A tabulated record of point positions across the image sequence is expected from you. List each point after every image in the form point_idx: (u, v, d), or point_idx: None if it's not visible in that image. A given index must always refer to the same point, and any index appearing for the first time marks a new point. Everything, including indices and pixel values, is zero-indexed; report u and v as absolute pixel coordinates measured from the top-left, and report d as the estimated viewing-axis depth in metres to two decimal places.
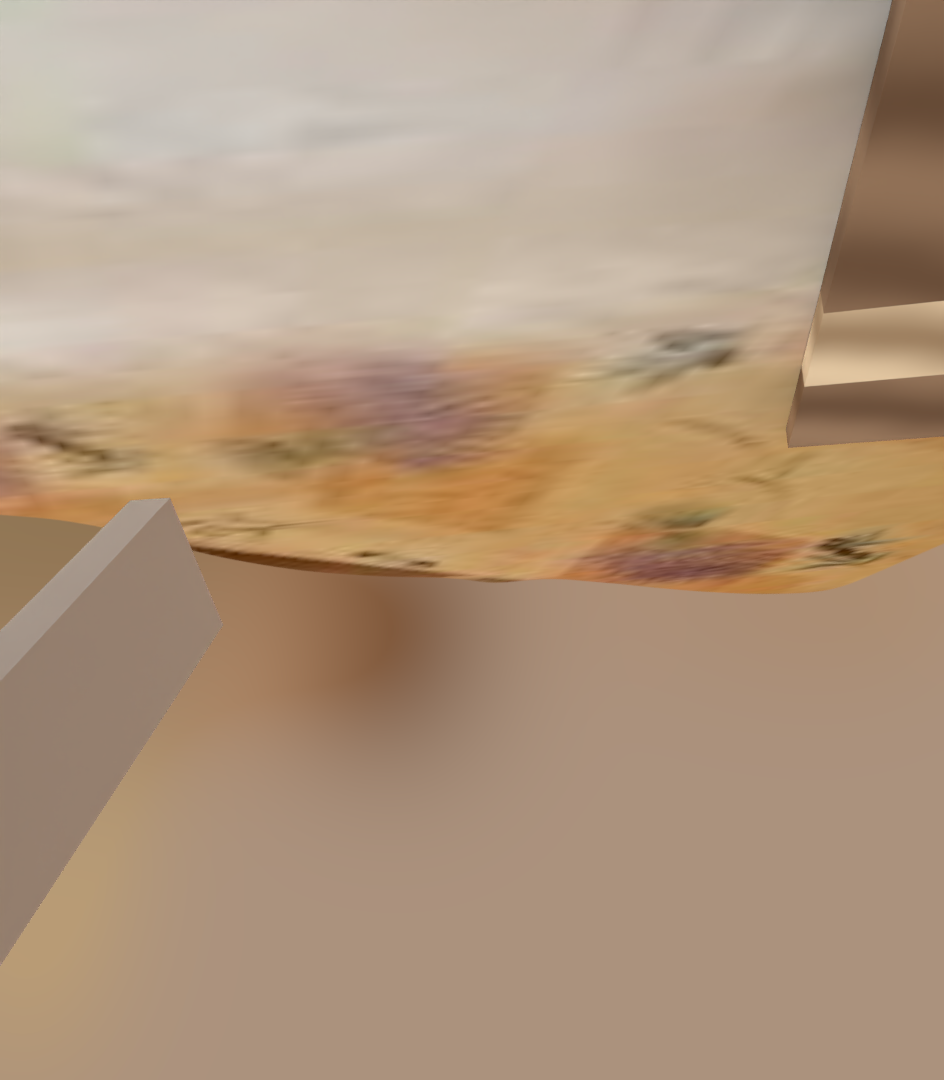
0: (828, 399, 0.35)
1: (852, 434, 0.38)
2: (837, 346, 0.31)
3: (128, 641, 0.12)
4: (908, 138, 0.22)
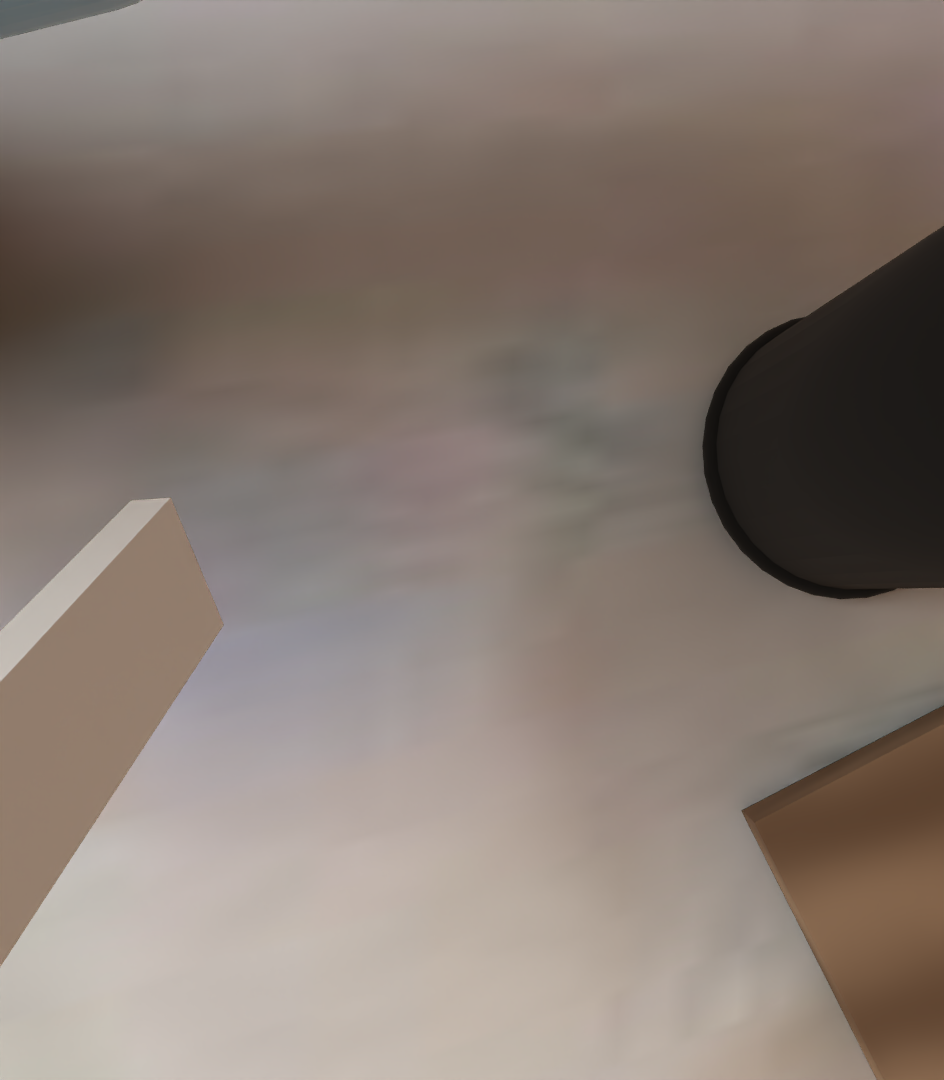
0: None
1: None
2: None
3: (129, 641, 0.12)
4: (910, 1052, 0.23)
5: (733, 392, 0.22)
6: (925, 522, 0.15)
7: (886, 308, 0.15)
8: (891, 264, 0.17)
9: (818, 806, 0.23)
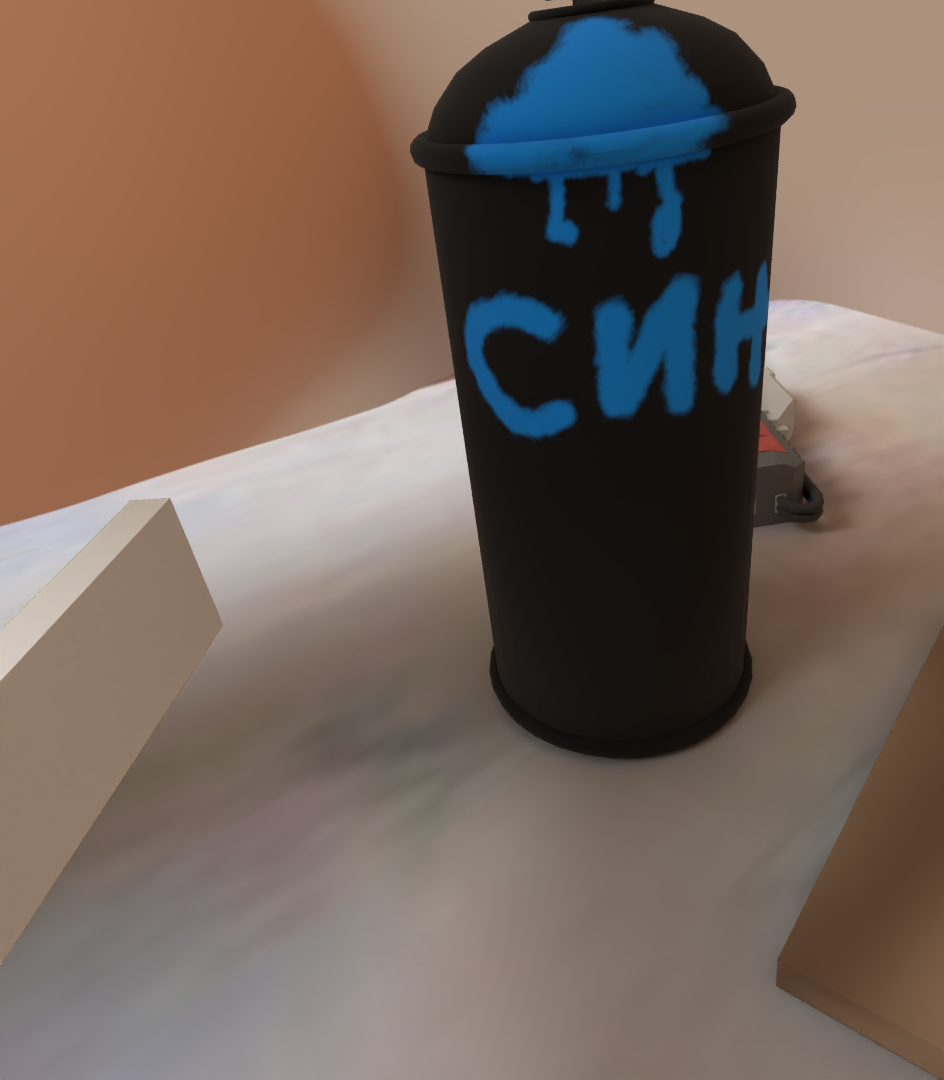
0: None
1: None
2: None
3: (128, 641, 0.12)
4: None
5: (495, 654, 0.26)
6: (575, 528, 0.19)
7: (468, 466, 0.22)
8: None
9: (831, 901, 0.18)
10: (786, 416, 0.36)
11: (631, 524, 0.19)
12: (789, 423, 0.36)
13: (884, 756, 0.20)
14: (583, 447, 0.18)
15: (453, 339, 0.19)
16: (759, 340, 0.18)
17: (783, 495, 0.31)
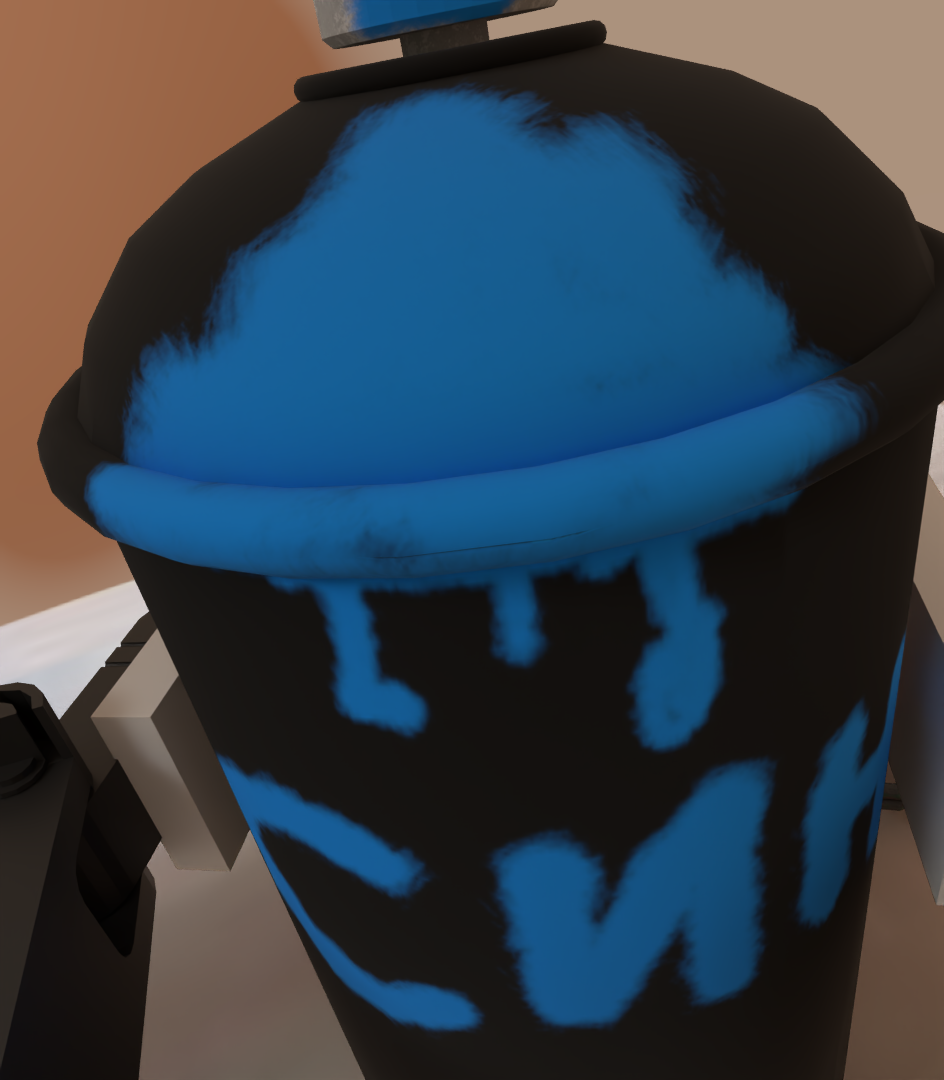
0: None
1: None
2: None
3: None
4: None
5: None
6: None
7: None
8: None
9: None
10: None
11: None
12: None
13: None
14: (503, 1060, 0.08)
15: None
16: (885, 770, 0.08)
17: None
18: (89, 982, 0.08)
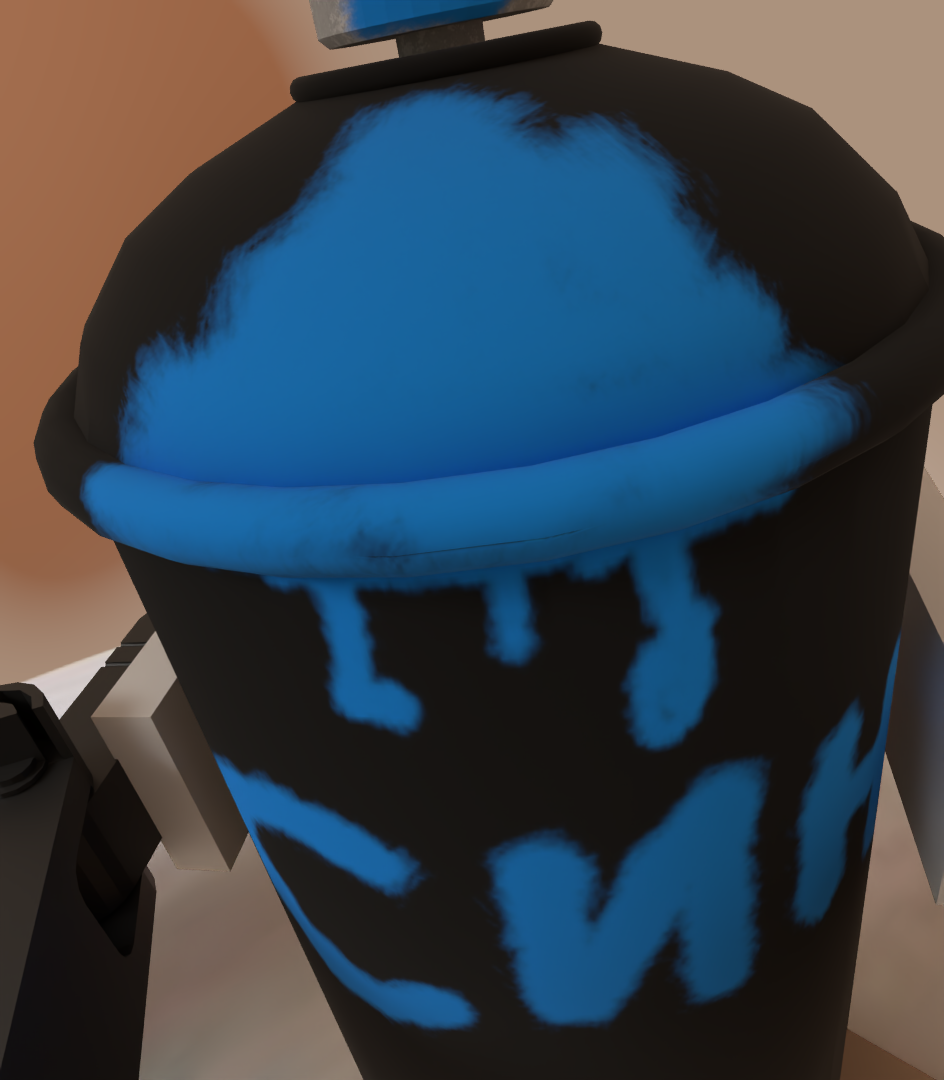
0: None
1: None
2: None
3: None
4: None
5: None
6: None
7: None
8: None
9: None
10: None
11: None
12: None
13: None
14: (498, 1059, 0.08)
15: None
16: (881, 769, 0.08)
17: None
18: (90, 982, 0.08)
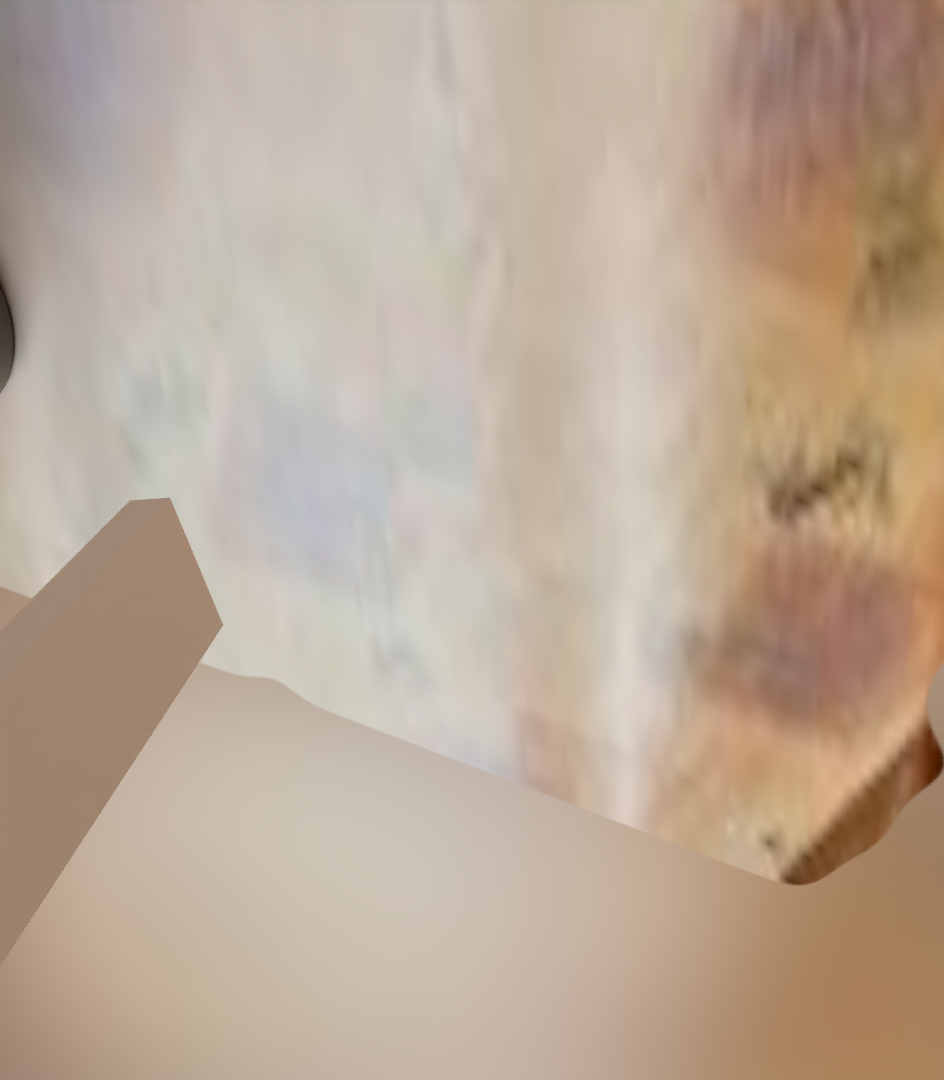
0: None
1: None
2: None
3: (128, 641, 0.12)
4: None
5: None
6: None
7: None
8: None
9: None
10: None
11: None
12: None
13: None
14: None
15: None
16: None
17: None
18: None
